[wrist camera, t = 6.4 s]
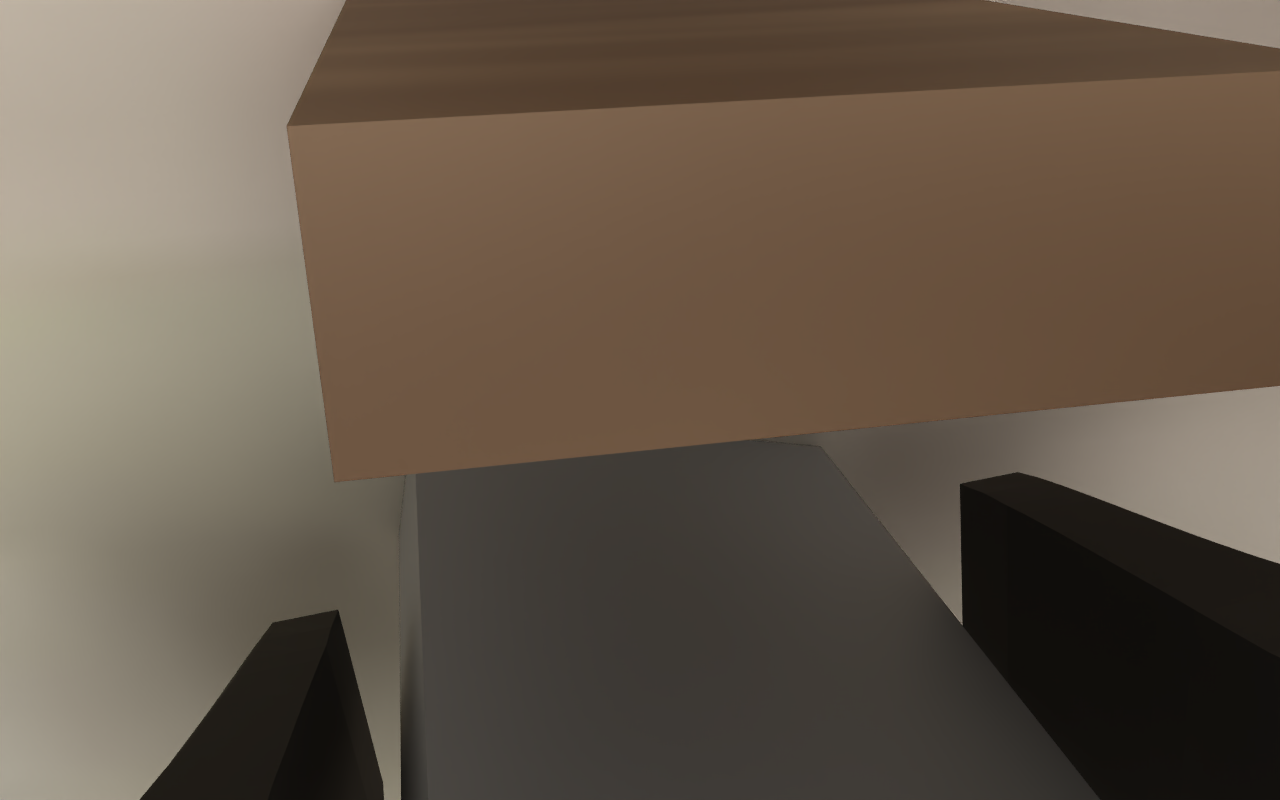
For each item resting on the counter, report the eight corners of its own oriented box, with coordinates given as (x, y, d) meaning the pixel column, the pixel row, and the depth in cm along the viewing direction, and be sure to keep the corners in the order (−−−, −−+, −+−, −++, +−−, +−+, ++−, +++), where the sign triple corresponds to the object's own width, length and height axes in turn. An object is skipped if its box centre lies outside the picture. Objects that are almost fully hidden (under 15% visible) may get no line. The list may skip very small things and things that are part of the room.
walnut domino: (349, -6, 12) (286, 125, 5) (828, -26, 13) (1380, 63, 6) (367, 153, 13) (333, 481, 6) (822, 125, 14) (1315, 382, 6)
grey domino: (412, 409, 14) (433, 952, 7) (819, 445, 15) (1212, 942, 8) (398, 533, 15) (405, 1158, 7) (792, 558, 16) (1137, 1122, 8)
